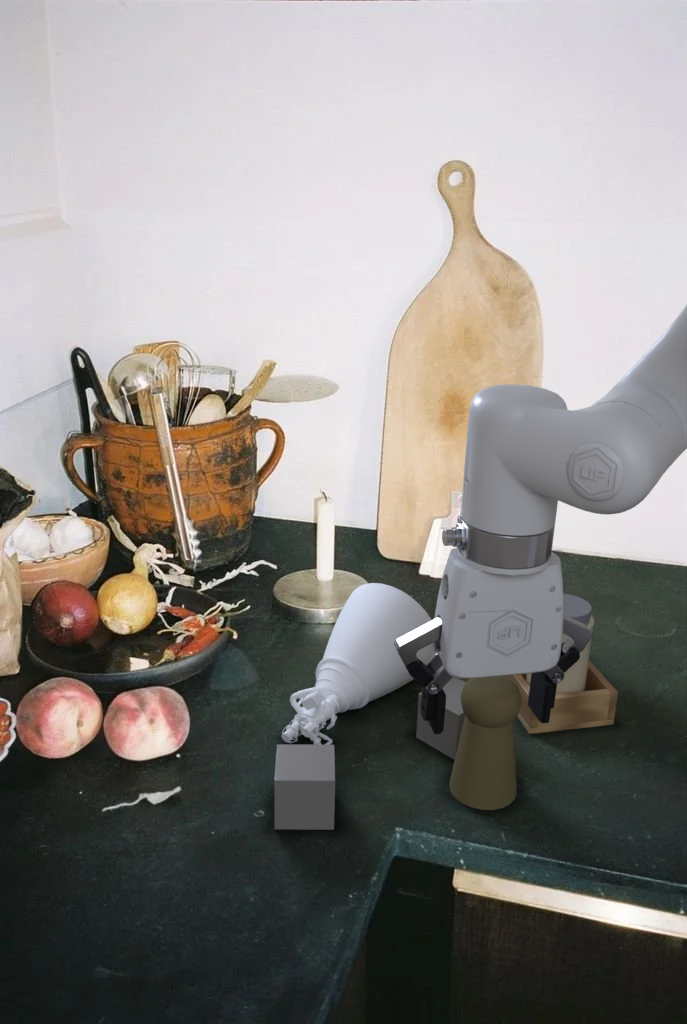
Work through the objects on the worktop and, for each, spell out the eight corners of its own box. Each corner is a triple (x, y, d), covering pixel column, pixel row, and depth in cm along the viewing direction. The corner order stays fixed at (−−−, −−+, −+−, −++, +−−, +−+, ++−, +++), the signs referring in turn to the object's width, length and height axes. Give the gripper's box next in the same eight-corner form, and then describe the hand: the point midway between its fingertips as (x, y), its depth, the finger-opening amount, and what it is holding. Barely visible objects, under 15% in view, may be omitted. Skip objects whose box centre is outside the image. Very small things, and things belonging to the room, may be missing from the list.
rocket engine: (288, 673, 83) (391, 567, 96) (226, 704, 92) (329, 603, 104) (367, 773, 84) (460, 655, 96) (299, 794, 92) (393, 684, 105)
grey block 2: (488, 740, 91) (492, 695, 89) (455, 760, 88) (458, 715, 86) (449, 718, 95) (452, 675, 93) (415, 737, 91) (418, 693, 90)
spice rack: (516, 609, 118) (519, 581, 116) (613, 724, 94) (618, 692, 93) (447, 615, 116) (449, 587, 114) (529, 734, 92) (532, 701, 91)
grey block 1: (334, 829, 79) (335, 780, 77) (274, 829, 79) (274, 780, 77) (333, 791, 83) (334, 744, 82) (277, 791, 83) (277, 744, 81)
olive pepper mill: (447, 805, 82) (455, 697, 78) (450, 764, 88) (458, 661, 84) (517, 814, 81) (529, 705, 77) (516, 771, 87) (527, 667, 83)
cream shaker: (593, 712, 95) (606, 616, 91) (538, 718, 94) (549, 620, 90) (567, 681, 101) (579, 589, 97) (515, 687, 99) (525, 593, 95)
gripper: (415, 565, 70) (402, 755, 77) (625, 552, 74) (597, 735, 80) (389, 527, 77) (380, 705, 83) (583, 517, 81) (560, 688, 87)
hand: (486, 719), depth 82 cm, fingers open, 9 cm apart
